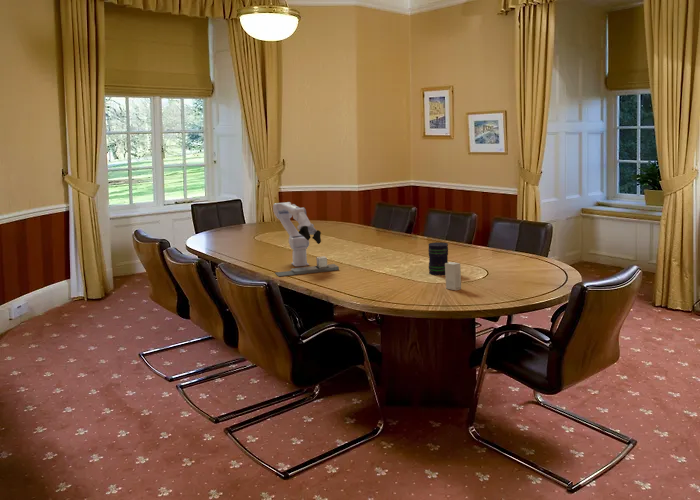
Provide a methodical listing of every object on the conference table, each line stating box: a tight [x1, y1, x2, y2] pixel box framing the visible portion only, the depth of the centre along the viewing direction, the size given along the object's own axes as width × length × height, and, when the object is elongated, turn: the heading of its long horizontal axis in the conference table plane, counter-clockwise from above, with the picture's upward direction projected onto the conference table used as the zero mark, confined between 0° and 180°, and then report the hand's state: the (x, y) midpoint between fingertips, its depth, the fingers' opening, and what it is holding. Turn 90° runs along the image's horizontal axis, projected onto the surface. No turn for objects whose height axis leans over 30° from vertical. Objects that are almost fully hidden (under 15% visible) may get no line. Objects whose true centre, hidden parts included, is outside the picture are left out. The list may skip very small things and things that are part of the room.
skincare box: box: [444, 261, 462, 291], centre depth 314 cm, size 6×4×12 cm
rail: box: [290, 263, 340, 276], centre depth 363 cm, size 8×24×2 cm, turn 108°
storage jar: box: [427, 241, 449, 276], centre depth 346 cm, size 10×10×15 cm
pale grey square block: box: [316, 255, 328, 269], centre depth 364 cm, size 4×4×7 cm
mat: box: [274, 270, 297, 278], centre depth 358 cm, size 9×9×1 cm
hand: (314, 240), depth 358 cm, fingers open, 7 cm apart
